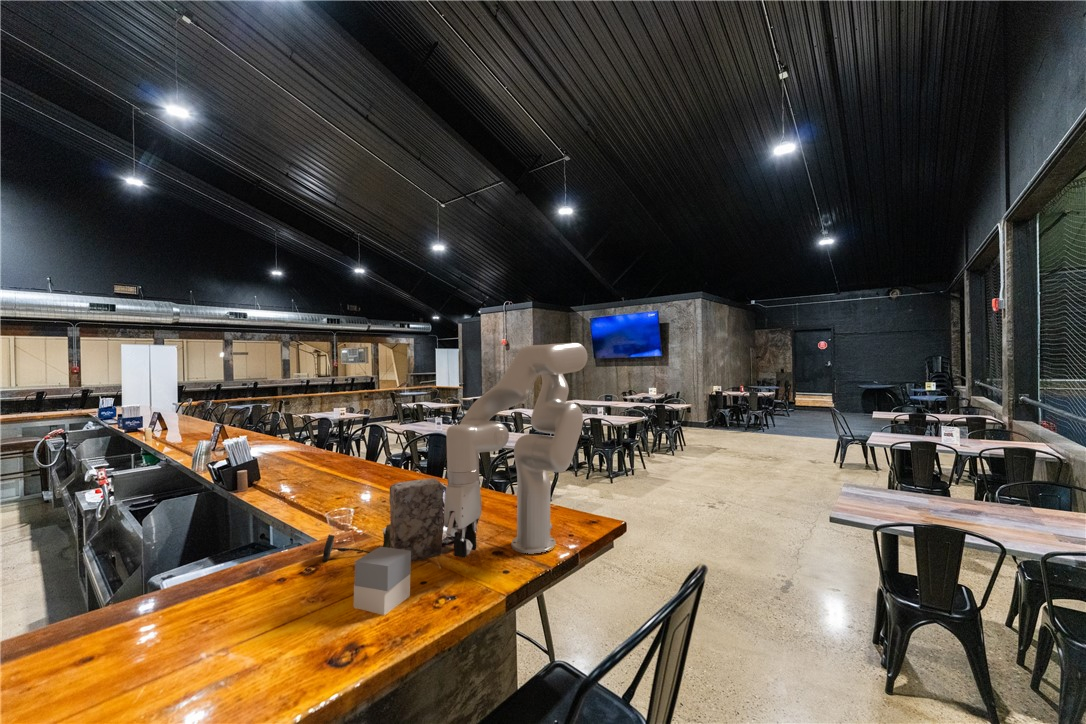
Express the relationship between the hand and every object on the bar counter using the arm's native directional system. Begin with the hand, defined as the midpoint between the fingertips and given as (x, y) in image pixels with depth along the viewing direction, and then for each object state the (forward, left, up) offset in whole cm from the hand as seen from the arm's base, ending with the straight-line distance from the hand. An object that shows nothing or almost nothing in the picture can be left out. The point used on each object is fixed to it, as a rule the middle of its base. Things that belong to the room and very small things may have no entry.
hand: (465, 551), depth 102 cm
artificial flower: (-3, -32, -7) cm, 33 cm away
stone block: (-5, -18, -6) cm, 20 cm away
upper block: (+16, -10, -1) cm, 19 cm away
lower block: (+16, -11, -6) cm, 20 cm away
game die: (0, 0, -1) cm, 1 cm away
